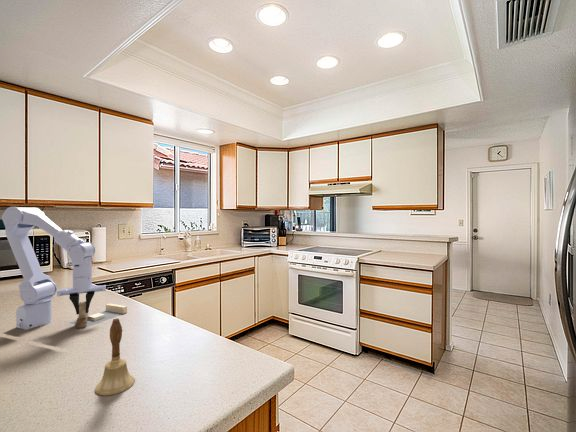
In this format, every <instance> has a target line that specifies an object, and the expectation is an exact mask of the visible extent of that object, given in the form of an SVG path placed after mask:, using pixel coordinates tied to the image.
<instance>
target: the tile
mask: <svg viewBox="0 0 576 432" xmlns="http://www.w3.org/2000/svg"><path fill="white" fill-rule="evenodd" d="M102 318H105V314H101V313H100V312H97V313H94V314H91V315H88V320H92V321H96V320H99V319H102Z"/></svg>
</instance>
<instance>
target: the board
mask: <svg viewBox="0 0 576 432" xmlns="http://www.w3.org/2000/svg"><path fill="white" fill-rule="evenodd" d="M99 313H101V314H105V318H102V319H99V320H96V321H92V320H88V321H87V325H86V327H88V328H89V327H91V326H93V325H97V324H99V323H102V322H105V321H107V320H110V319H114V318H115V317H117V316H121V315H124V314H127V313H128V306H127V305H120V304H114V303H107V304H105V310H103V311H100V312H99ZM76 321H77V319H76V320H74V321H73V320H72V321H71V322H69V324H71V325H72V324H73V325H76Z"/></svg>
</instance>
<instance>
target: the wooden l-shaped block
mask: <svg viewBox="0 0 576 432" xmlns="http://www.w3.org/2000/svg"><path fill="white" fill-rule="evenodd" d="M88 316H89V312H88V313H86V301H79V314H77V318H76V320H77V321H76V320H75V321H76V324H75V329H81V328H86V327H87V326H86V325H87V321H88Z"/></svg>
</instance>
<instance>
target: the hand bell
mask: <svg viewBox="0 0 576 432" xmlns="http://www.w3.org/2000/svg"><path fill="white" fill-rule="evenodd" d="M112 319H113V320H112V323H111V324H110V325H111V326H110V329H109V340H110V343H111V347H112V348H111V360H109V361H108V362H107V363H105V365H104V371H103V374H102V377H101V379H100V380H99V382H98V383H97V384H96V386H95V387H94V392H95V393H96V394H97V395H99V396H112V395H117V394H120V393H123V392H126V391H127V390H129V389H130V388H131V387H132V386H133V385H134V384H135V383H136V379H135V377H134V375H132V374H130V372H129V369H128V364H127V361H126V360H125V359H124V358H121V352H120V349H121V348H120V345H121V341H122V337H123V326H122V324H121V321H120V319H119V318H112Z"/></svg>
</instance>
